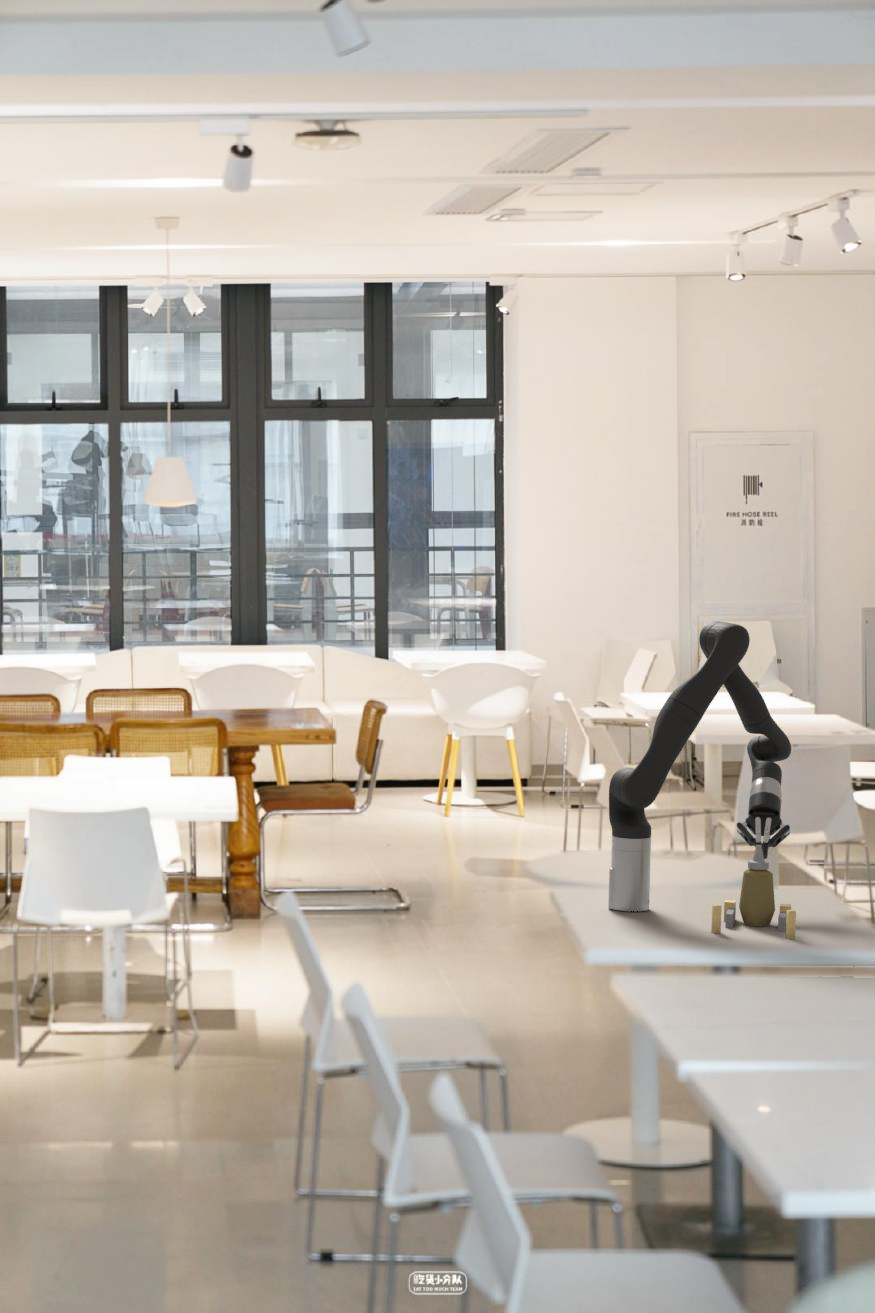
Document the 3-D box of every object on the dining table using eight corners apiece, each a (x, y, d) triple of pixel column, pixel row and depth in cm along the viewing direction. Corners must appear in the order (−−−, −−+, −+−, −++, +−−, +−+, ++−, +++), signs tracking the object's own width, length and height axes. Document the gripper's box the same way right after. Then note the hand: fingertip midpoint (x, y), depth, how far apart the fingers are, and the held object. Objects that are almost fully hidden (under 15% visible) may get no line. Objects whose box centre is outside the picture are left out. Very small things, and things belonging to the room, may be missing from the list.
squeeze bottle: (772, 929, 341) (774, 849, 341) (736, 926, 344) (738, 846, 344) (776, 923, 349) (779, 844, 349) (740, 919, 352) (743, 842, 351)
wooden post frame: (711, 933, 335) (711, 906, 335) (717, 918, 353) (718, 892, 353) (795, 939, 331) (795, 911, 331) (797, 924, 348) (798, 898, 348)
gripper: (736, 789, 367) (731, 847, 355) (793, 792, 363) (790, 850, 352) (737, 809, 372) (732, 866, 361) (793, 811, 369) (790, 870, 357)
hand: (761, 858), depth 356 cm, fingers closed
